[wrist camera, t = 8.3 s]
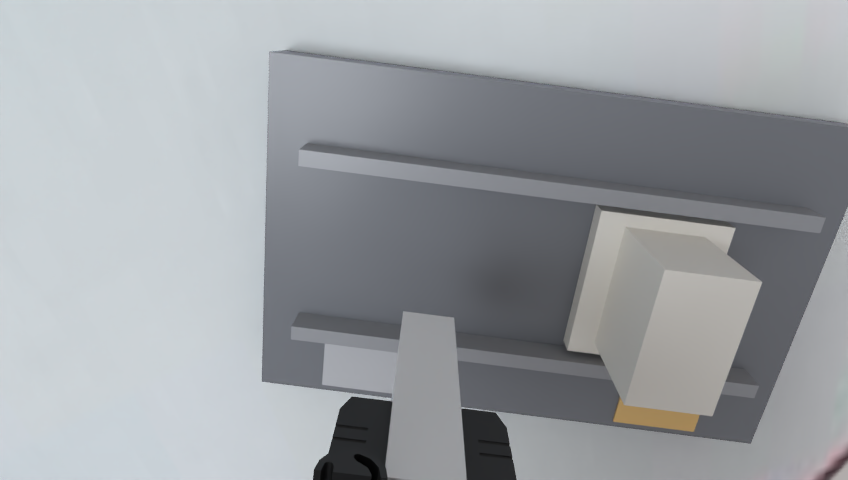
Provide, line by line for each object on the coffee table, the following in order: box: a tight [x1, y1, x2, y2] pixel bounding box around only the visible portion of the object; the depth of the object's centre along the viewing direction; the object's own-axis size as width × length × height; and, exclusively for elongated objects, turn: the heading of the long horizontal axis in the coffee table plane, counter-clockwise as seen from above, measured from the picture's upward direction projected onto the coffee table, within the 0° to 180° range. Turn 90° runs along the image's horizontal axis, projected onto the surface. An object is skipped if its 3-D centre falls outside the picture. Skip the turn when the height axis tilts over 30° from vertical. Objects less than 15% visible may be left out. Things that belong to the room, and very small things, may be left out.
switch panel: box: [262, 50, 848, 443], centre depth 23 cm, size 14×22×3 cm, turn 82°
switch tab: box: [563, 204, 762, 416], centre depth 20 cm, size 6×5×5 cm
